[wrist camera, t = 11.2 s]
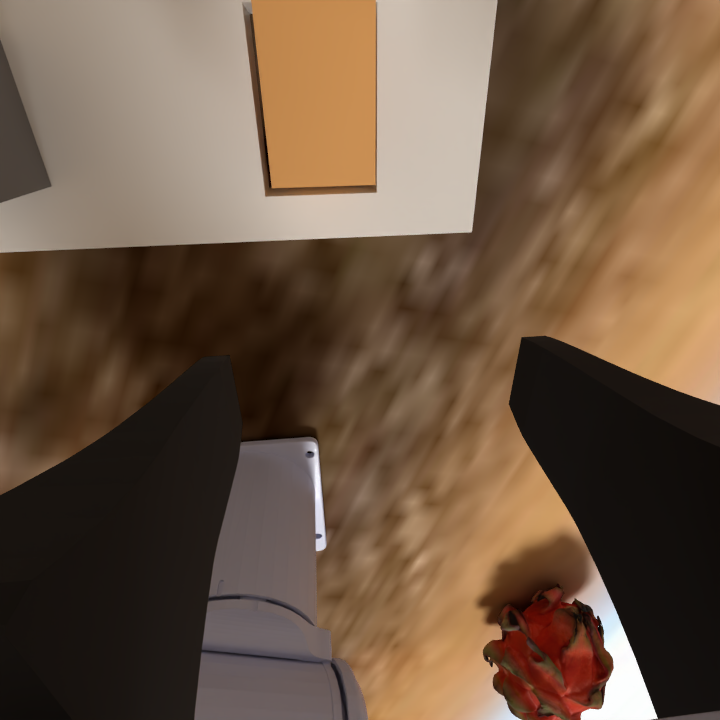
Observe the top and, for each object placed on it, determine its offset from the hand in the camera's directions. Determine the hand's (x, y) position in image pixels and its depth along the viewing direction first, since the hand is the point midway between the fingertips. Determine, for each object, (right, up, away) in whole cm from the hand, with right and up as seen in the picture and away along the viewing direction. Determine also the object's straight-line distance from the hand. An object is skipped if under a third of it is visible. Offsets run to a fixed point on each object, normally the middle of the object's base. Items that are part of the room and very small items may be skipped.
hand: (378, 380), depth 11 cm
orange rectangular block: (-2, +10, +6) cm, 12 cm away
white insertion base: (-7, +10, +6) cm, 13 cm away
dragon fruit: (+13, -20, +26) cm, 35 cm away
